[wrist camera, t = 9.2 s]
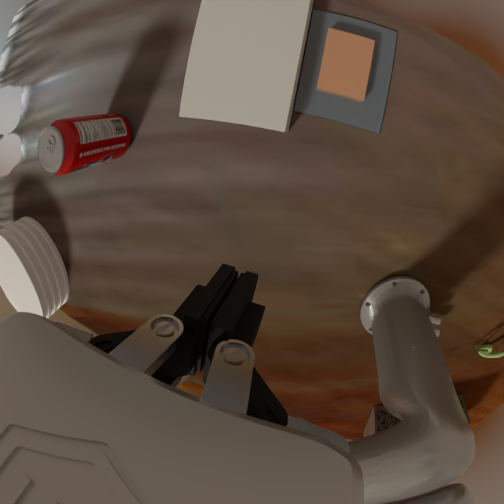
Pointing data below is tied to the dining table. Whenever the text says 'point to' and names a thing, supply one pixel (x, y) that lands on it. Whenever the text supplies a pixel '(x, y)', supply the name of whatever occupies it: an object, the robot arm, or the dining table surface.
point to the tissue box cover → (391, 418)
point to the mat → (378, 82)
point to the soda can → (82, 142)
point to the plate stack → (32, 268)
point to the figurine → (488, 351)
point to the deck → (246, 61)
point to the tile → (345, 65)
